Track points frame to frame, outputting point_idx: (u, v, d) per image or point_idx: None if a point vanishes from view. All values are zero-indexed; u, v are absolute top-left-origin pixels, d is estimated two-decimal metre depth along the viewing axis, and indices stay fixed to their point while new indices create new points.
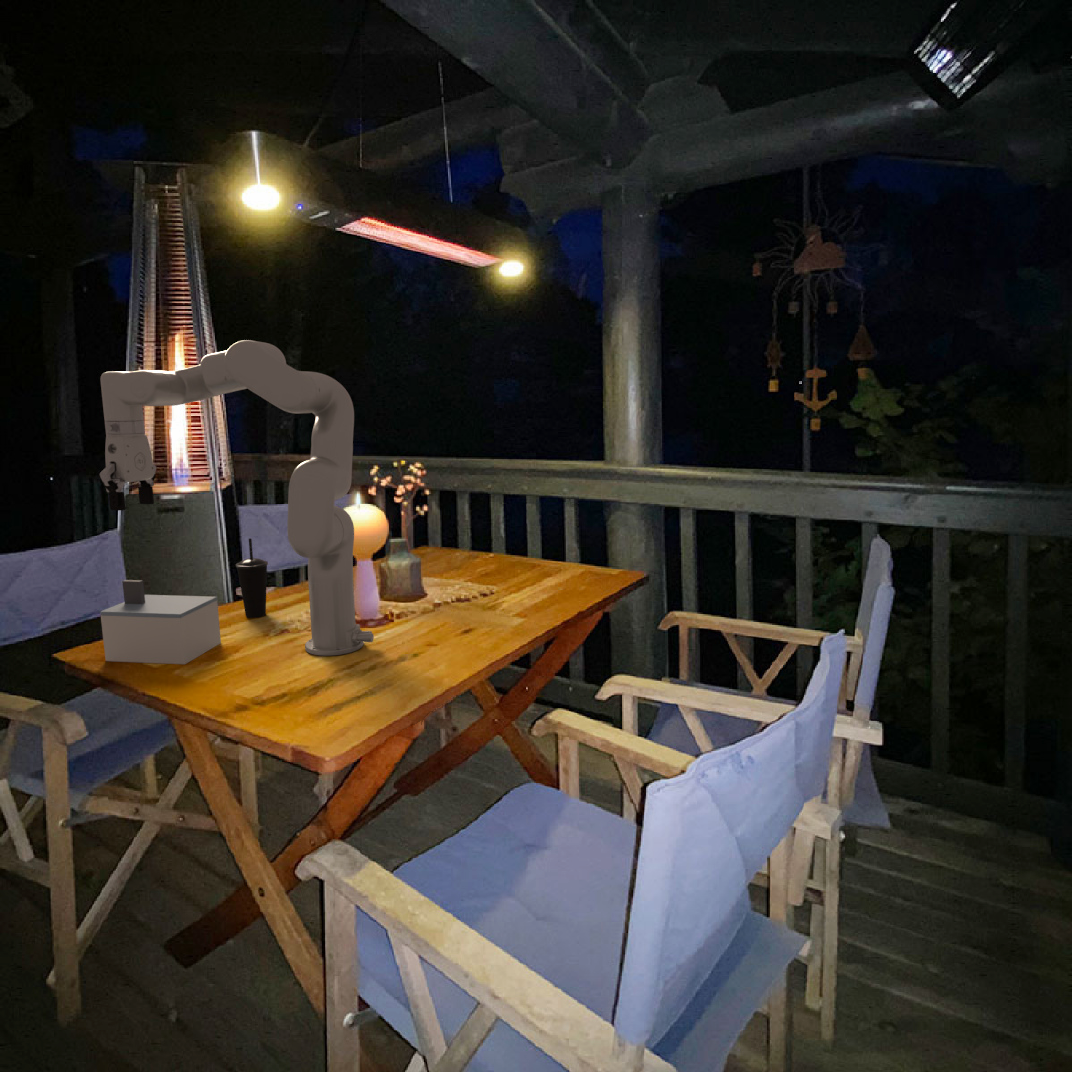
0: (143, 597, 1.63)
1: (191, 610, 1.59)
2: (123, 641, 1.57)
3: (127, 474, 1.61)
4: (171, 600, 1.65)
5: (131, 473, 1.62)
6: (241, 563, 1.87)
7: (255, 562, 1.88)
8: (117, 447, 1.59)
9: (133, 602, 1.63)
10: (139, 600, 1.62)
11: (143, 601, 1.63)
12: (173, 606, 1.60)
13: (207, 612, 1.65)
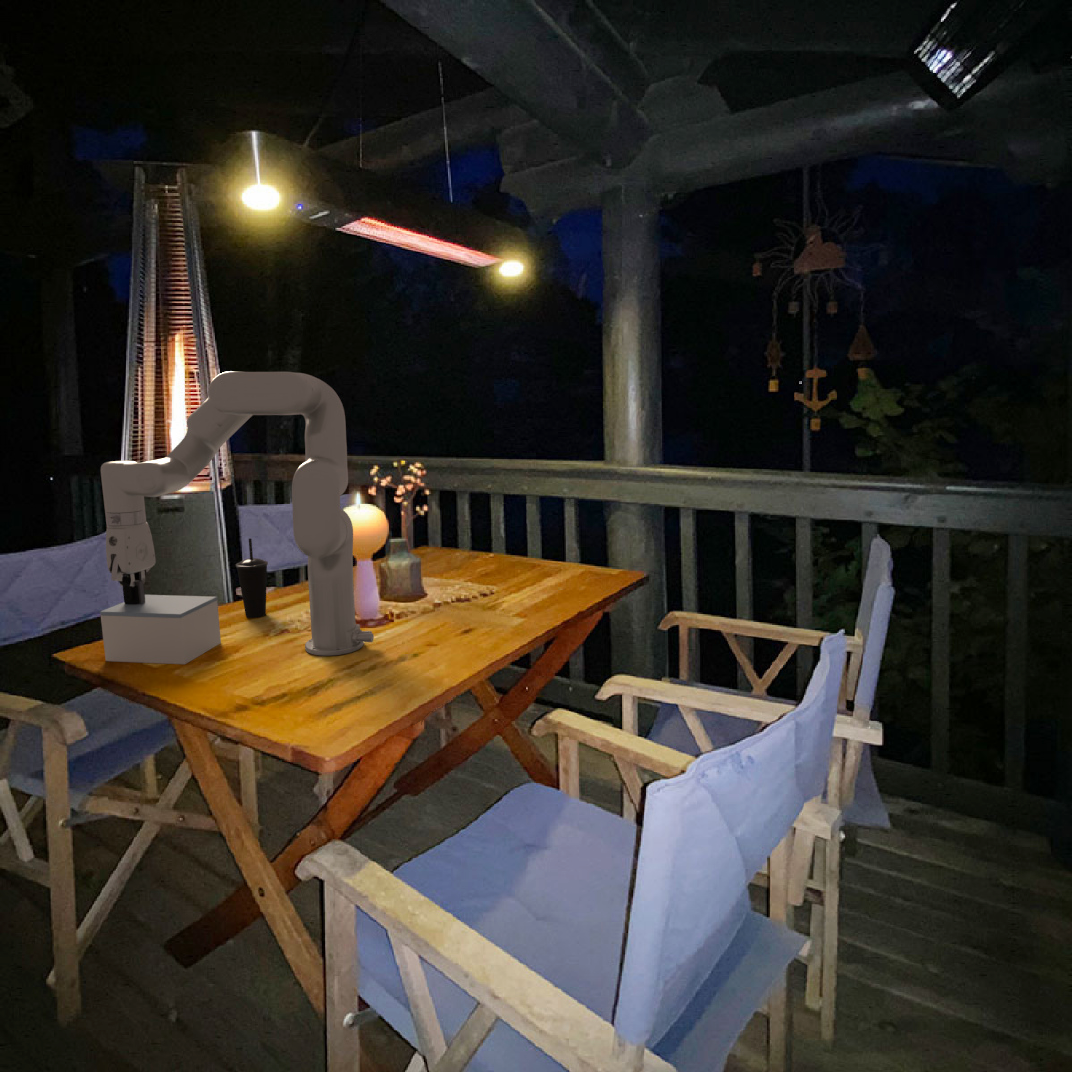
0: (143, 597, 1.63)
1: (191, 610, 1.59)
2: (123, 641, 1.57)
3: (128, 566, 1.57)
4: (171, 600, 1.65)
5: (132, 565, 1.58)
6: (241, 563, 1.87)
7: (255, 562, 1.88)
8: (118, 540, 1.56)
9: None
10: (139, 600, 1.62)
11: (143, 601, 1.63)
12: (173, 606, 1.60)
13: (207, 612, 1.65)
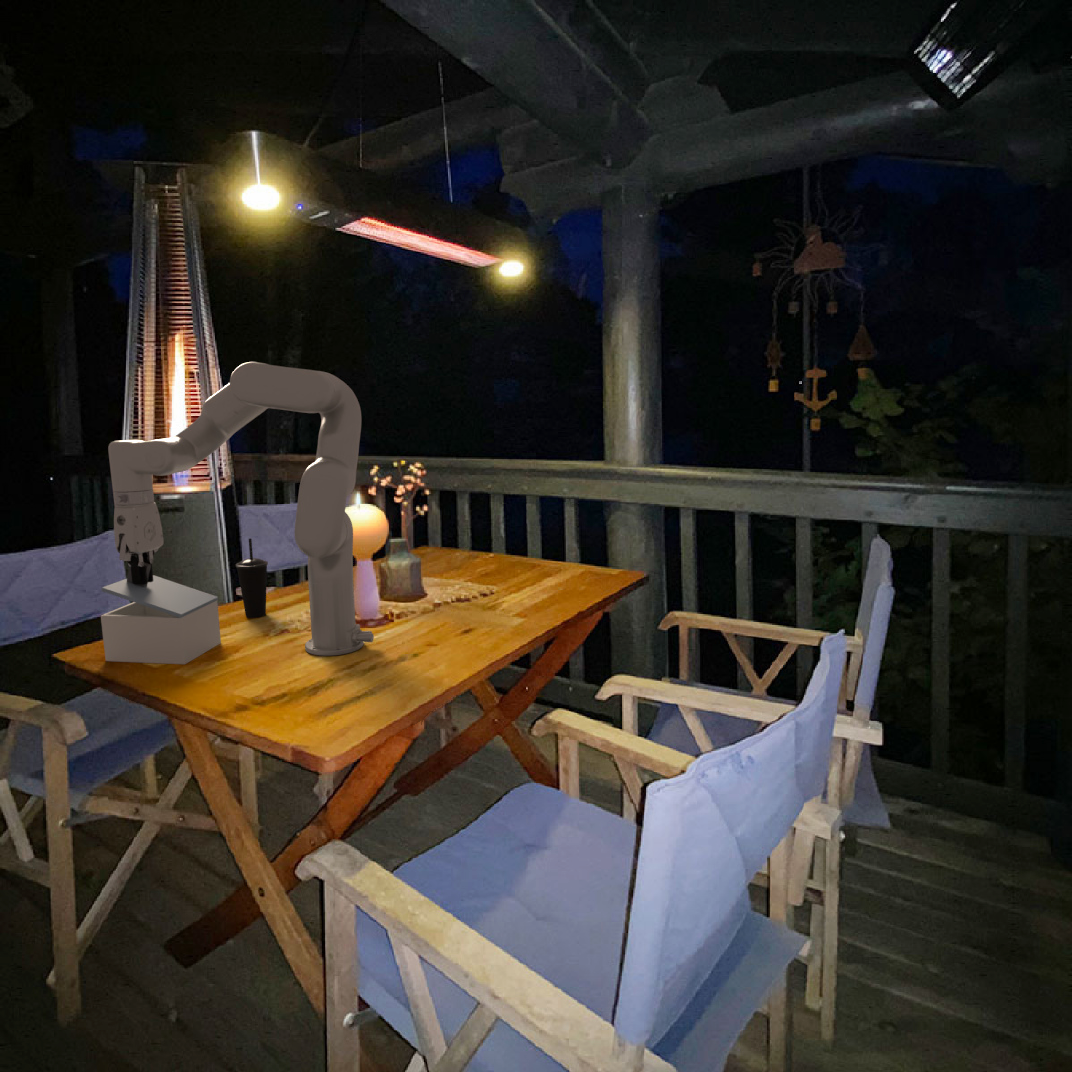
0: None
1: (192, 610, 1.59)
2: (123, 641, 1.57)
3: (137, 546, 1.56)
4: (173, 589, 1.65)
5: (141, 544, 1.57)
6: (241, 563, 1.87)
7: (255, 562, 1.88)
8: (126, 519, 1.55)
9: None
10: None
11: (145, 584, 1.62)
12: (174, 600, 1.60)
13: (207, 612, 1.65)
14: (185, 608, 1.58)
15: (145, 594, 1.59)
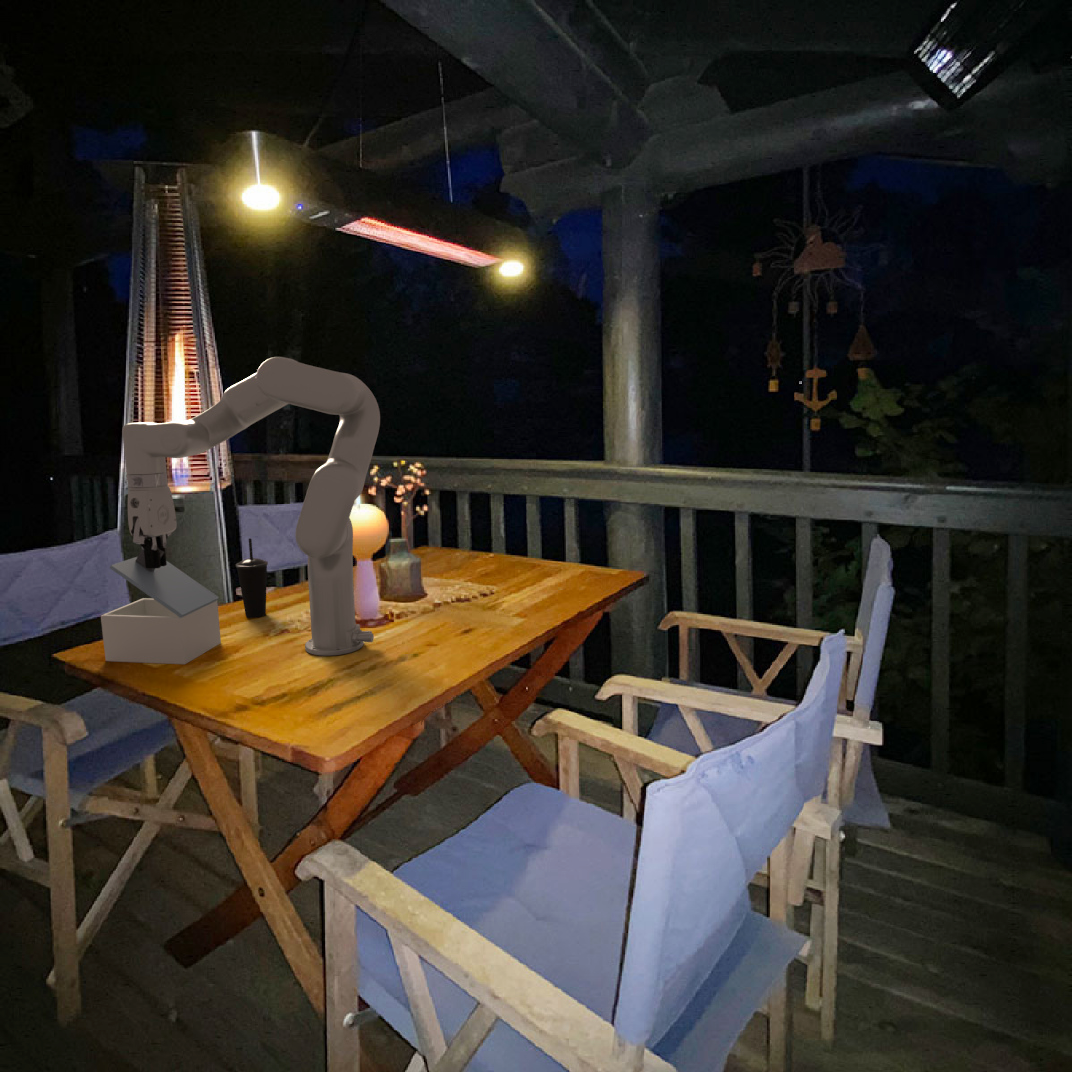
0: None
1: (192, 610, 1.59)
2: (123, 641, 1.57)
3: (150, 529, 1.55)
4: (177, 580, 1.64)
5: (154, 527, 1.56)
6: (241, 563, 1.87)
7: (255, 562, 1.88)
8: (140, 501, 1.54)
9: (143, 565, 1.61)
10: None
11: (153, 569, 1.61)
12: (178, 594, 1.60)
13: (207, 612, 1.65)
14: (187, 607, 1.58)
15: (151, 581, 1.58)
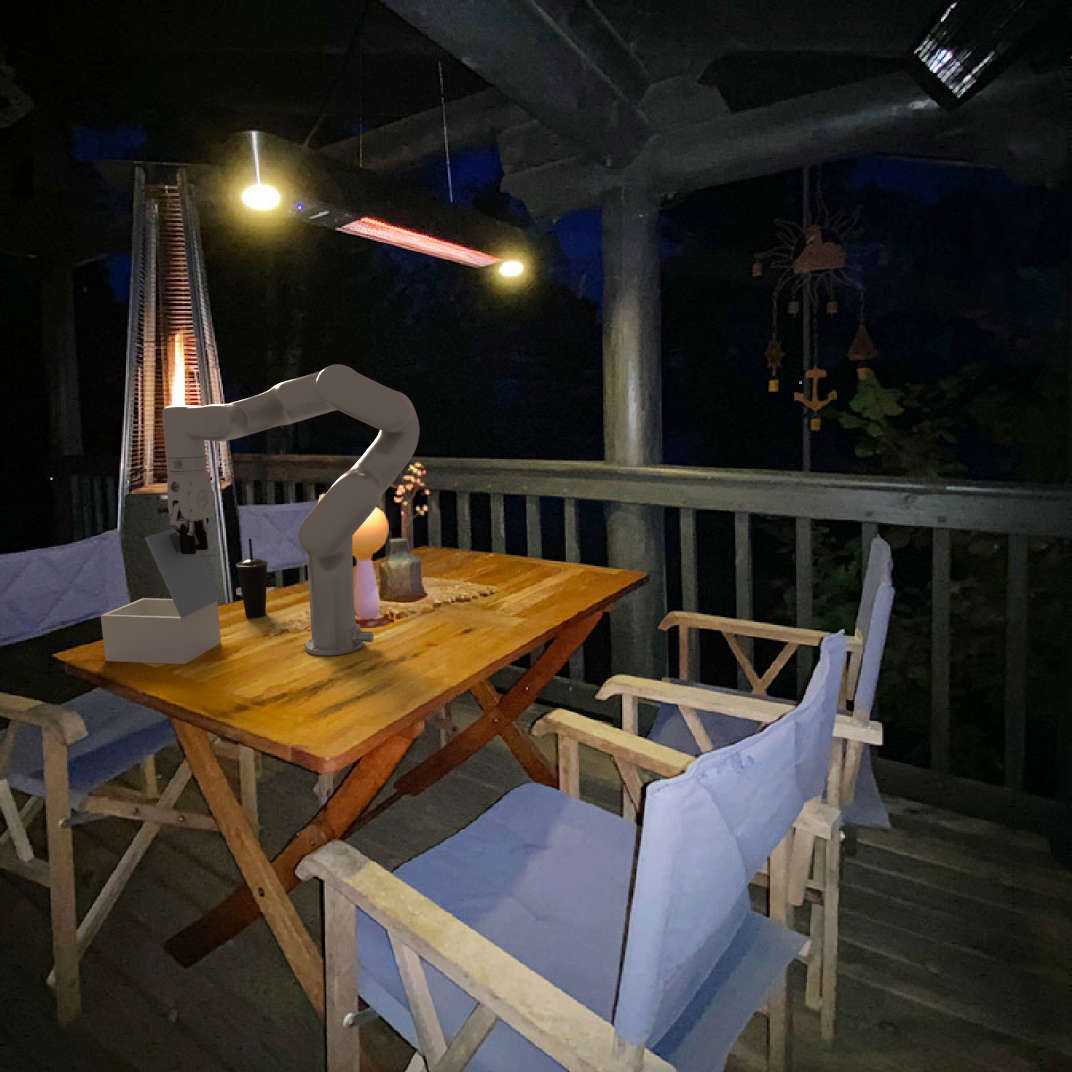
0: None
1: None
2: (123, 641, 1.57)
3: (190, 513, 1.53)
4: (194, 569, 1.63)
5: (194, 512, 1.54)
6: (241, 563, 1.87)
7: (255, 562, 1.88)
8: (180, 485, 1.52)
9: (174, 543, 1.59)
10: (178, 549, 1.59)
11: (179, 551, 1.60)
12: (189, 588, 1.59)
13: (207, 612, 1.65)
14: (190, 607, 1.58)
15: (173, 566, 1.57)
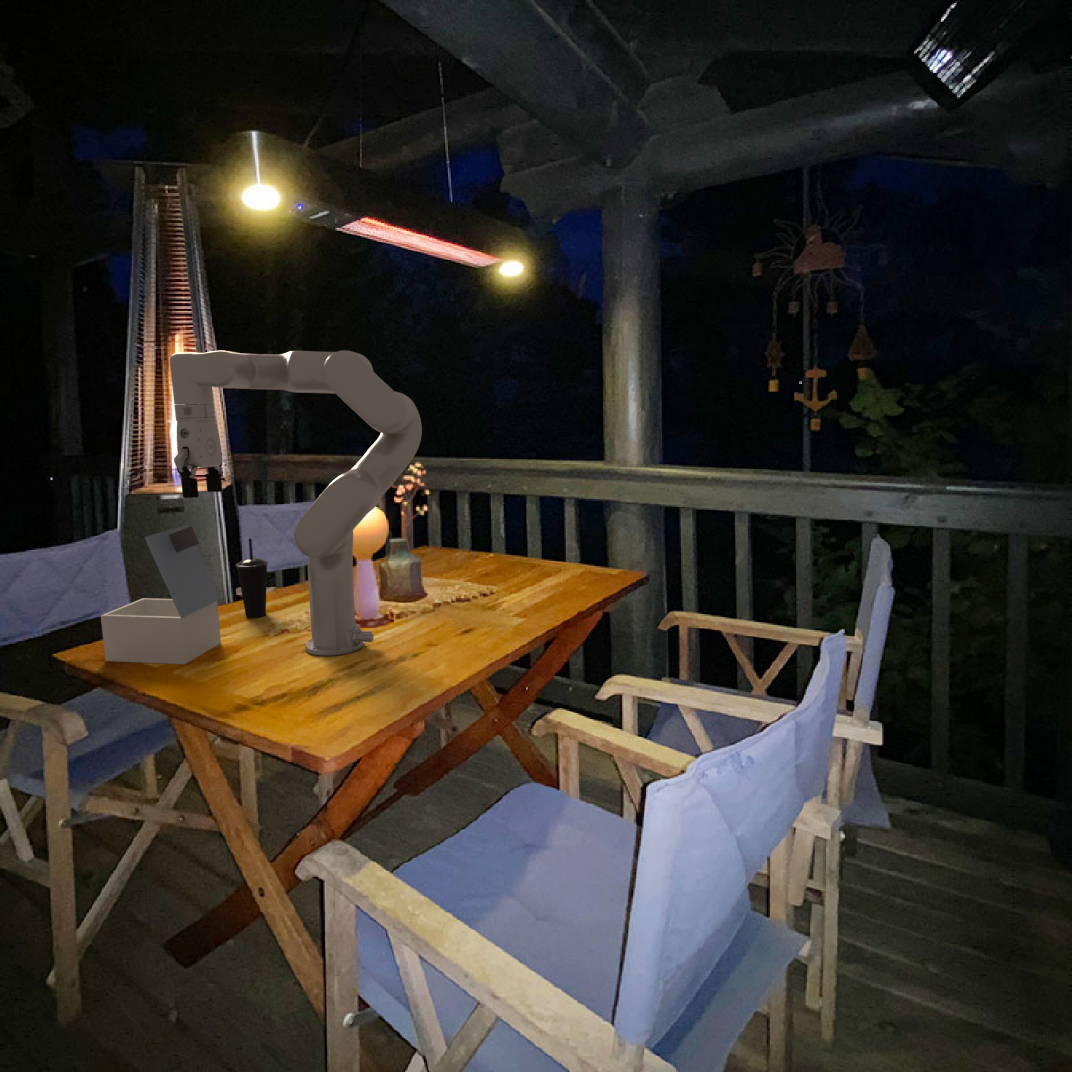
0: (183, 549, 1.60)
1: None
2: (123, 641, 1.57)
3: (200, 459, 1.54)
4: (194, 569, 1.63)
5: (204, 458, 1.55)
6: (241, 563, 1.87)
7: (255, 562, 1.88)
8: (190, 431, 1.53)
9: (174, 543, 1.59)
10: (178, 549, 1.59)
11: (179, 551, 1.60)
12: (189, 588, 1.59)
13: (207, 612, 1.65)
14: (190, 607, 1.58)
15: (173, 566, 1.57)
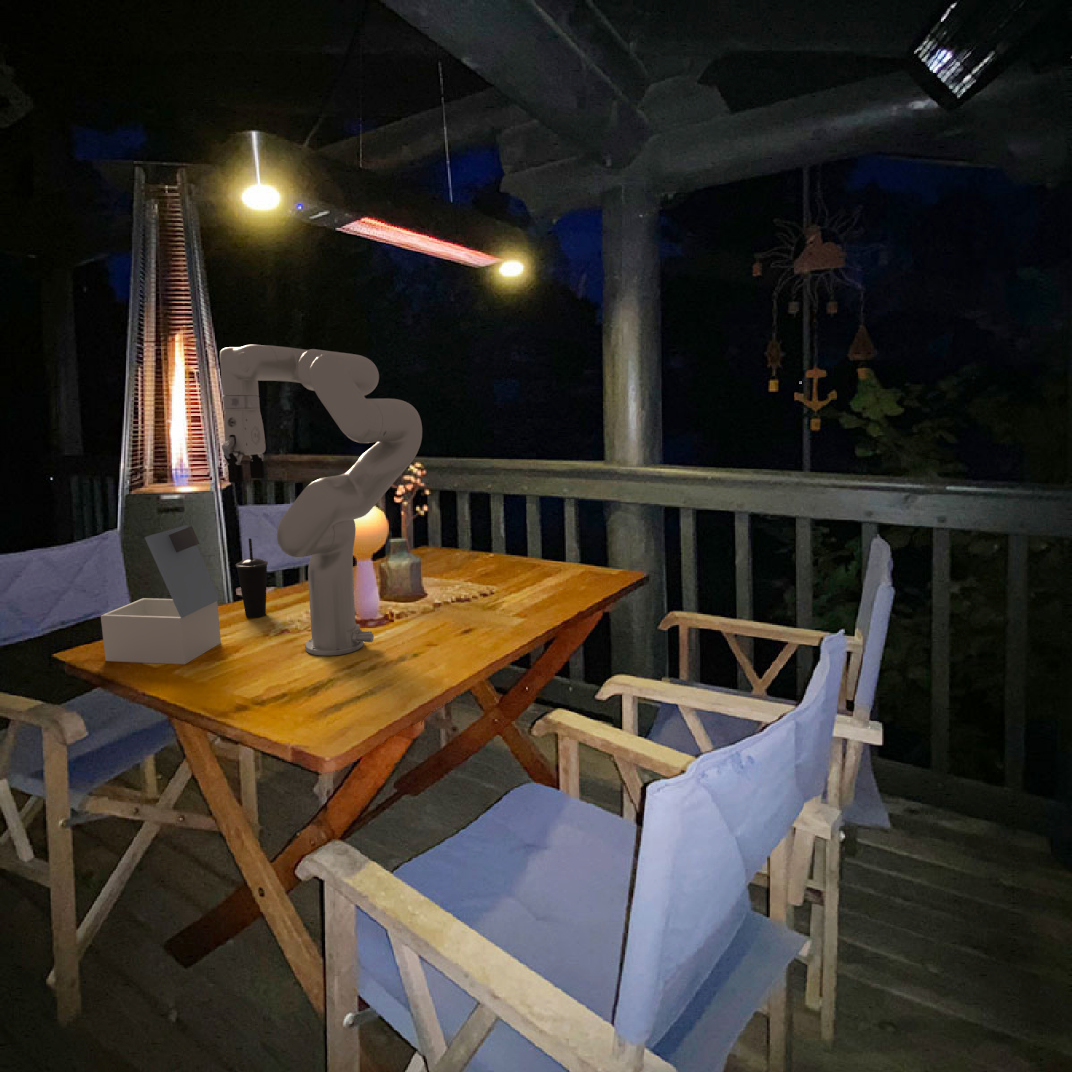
0: (183, 549, 1.60)
1: None
2: (123, 641, 1.57)
3: (246, 447, 1.65)
4: (194, 569, 1.63)
5: (249, 446, 1.66)
6: (241, 563, 1.87)
7: (255, 562, 1.88)
8: (237, 421, 1.64)
9: (174, 543, 1.59)
10: (178, 549, 1.59)
11: (179, 551, 1.60)
12: (189, 588, 1.59)
13: (207, 612, 1.65)
14: (190, 607, 1.58)
15: (173, 566, 1.57)
